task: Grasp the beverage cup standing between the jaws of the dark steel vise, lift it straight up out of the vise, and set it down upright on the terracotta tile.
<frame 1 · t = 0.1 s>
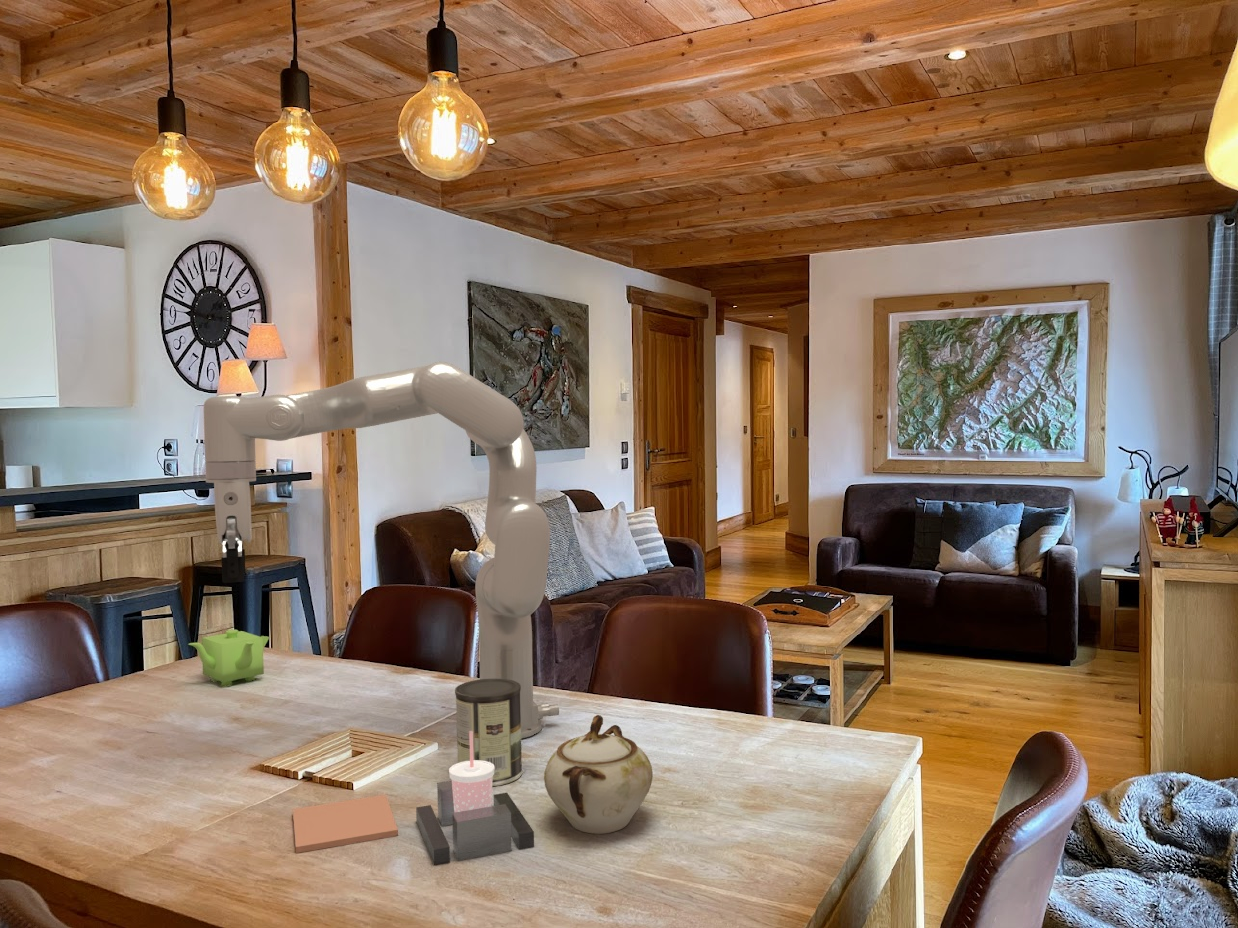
hand: (234, 577, 148), 31 cm above the table, tool pointing down, fingers open, 9 cm apart
terracotta tile: (343, 824, 126), on the table
sugar bowl: (599, 822, 126), on the table
kettle: (231, 681, 202), on the table
beverage cup: (473, 835, 123), resting in vise
coffee can: (489, 776, 144), on the table
vise: (473, 833, 123), on the table
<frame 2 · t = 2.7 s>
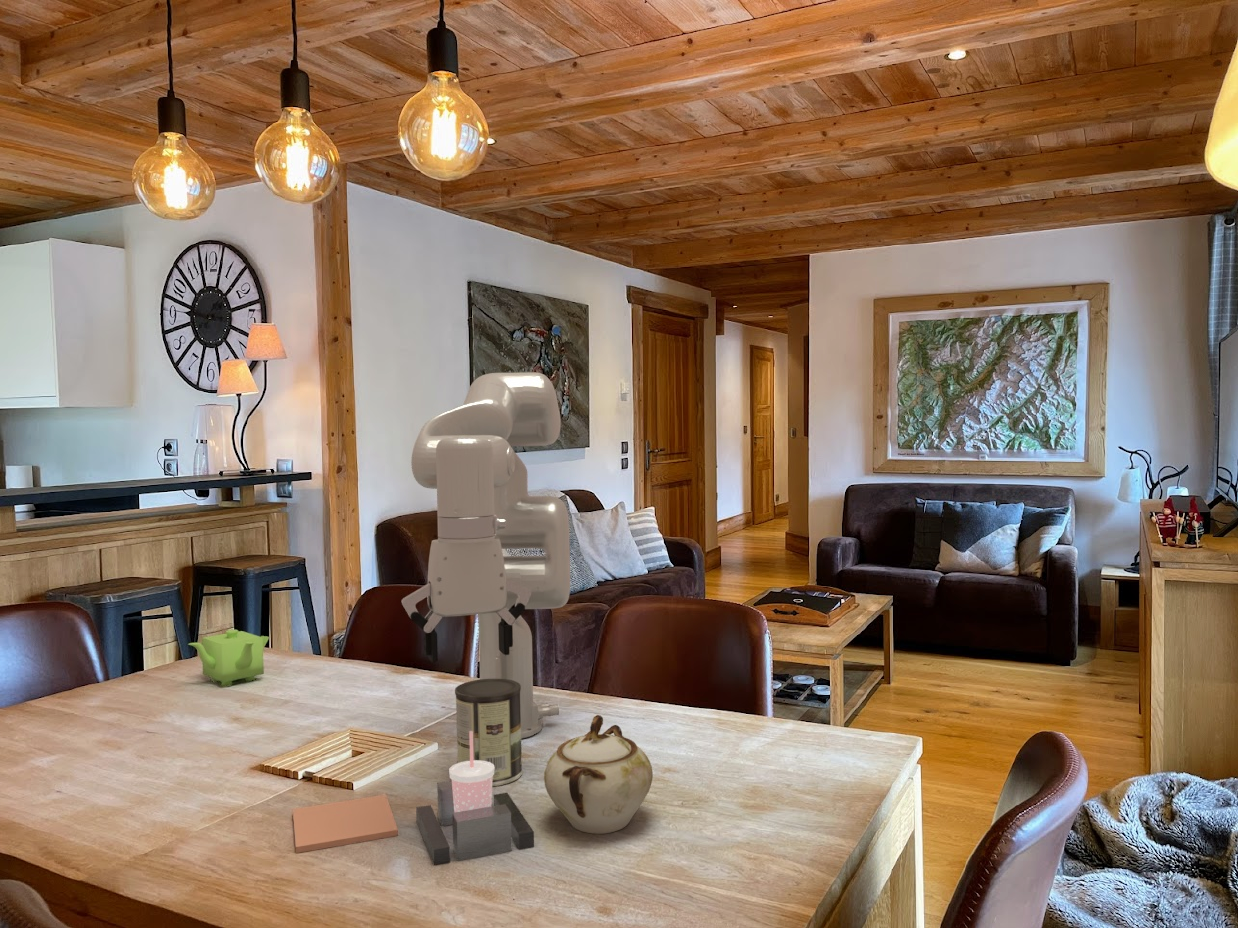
hand: (469, 656, 122), 24 cm above the table, tool pointing down, fingers open, 9 cm apart
nothing on the table moved.
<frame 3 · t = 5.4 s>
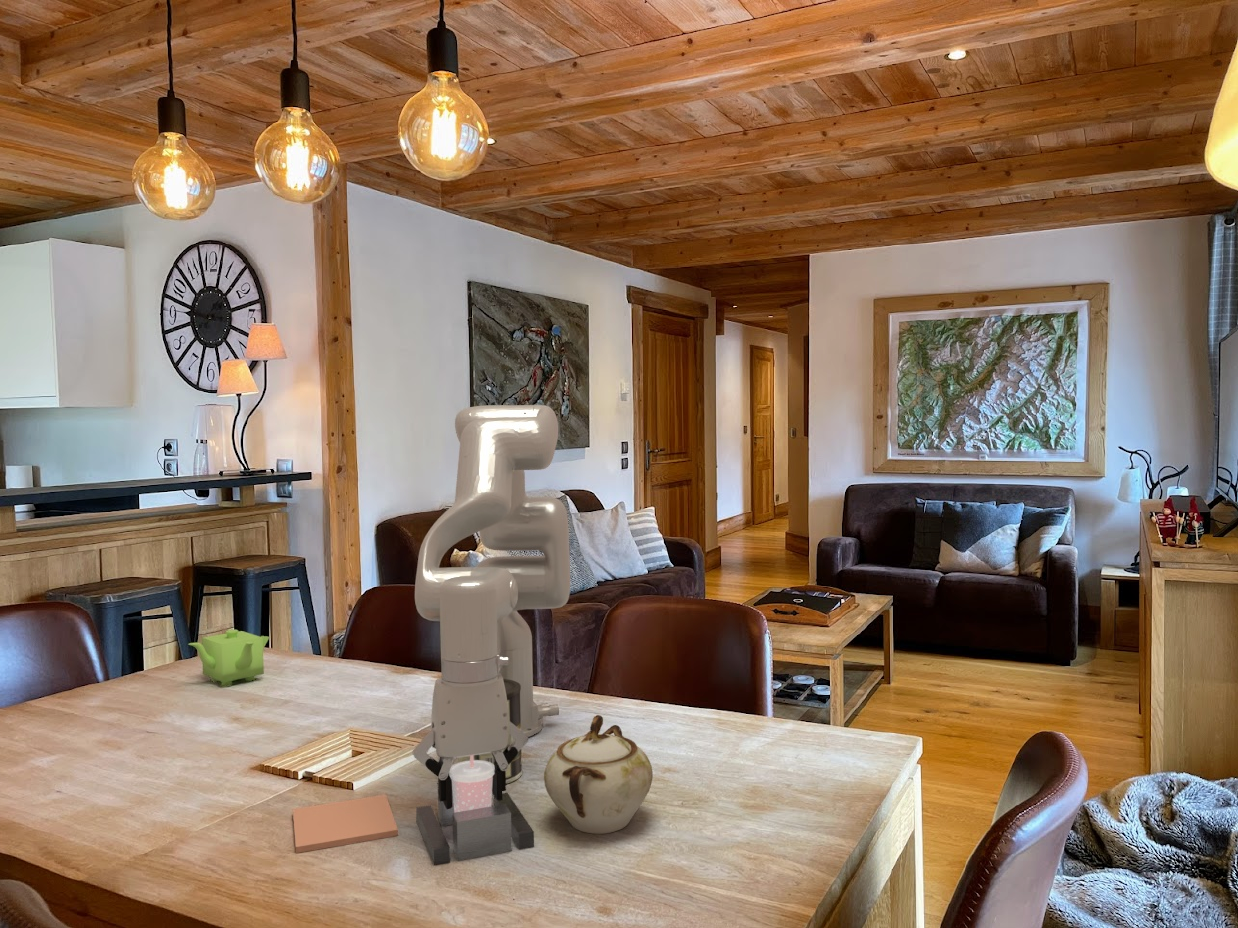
hand: (472, 799, 123), 5 cm above the table, tool pointing down, fingers closed on beverage cup, 6 cm apart
beverage cup: (473, 835, 123), resting in vise, touching gripper
everything else where it was.
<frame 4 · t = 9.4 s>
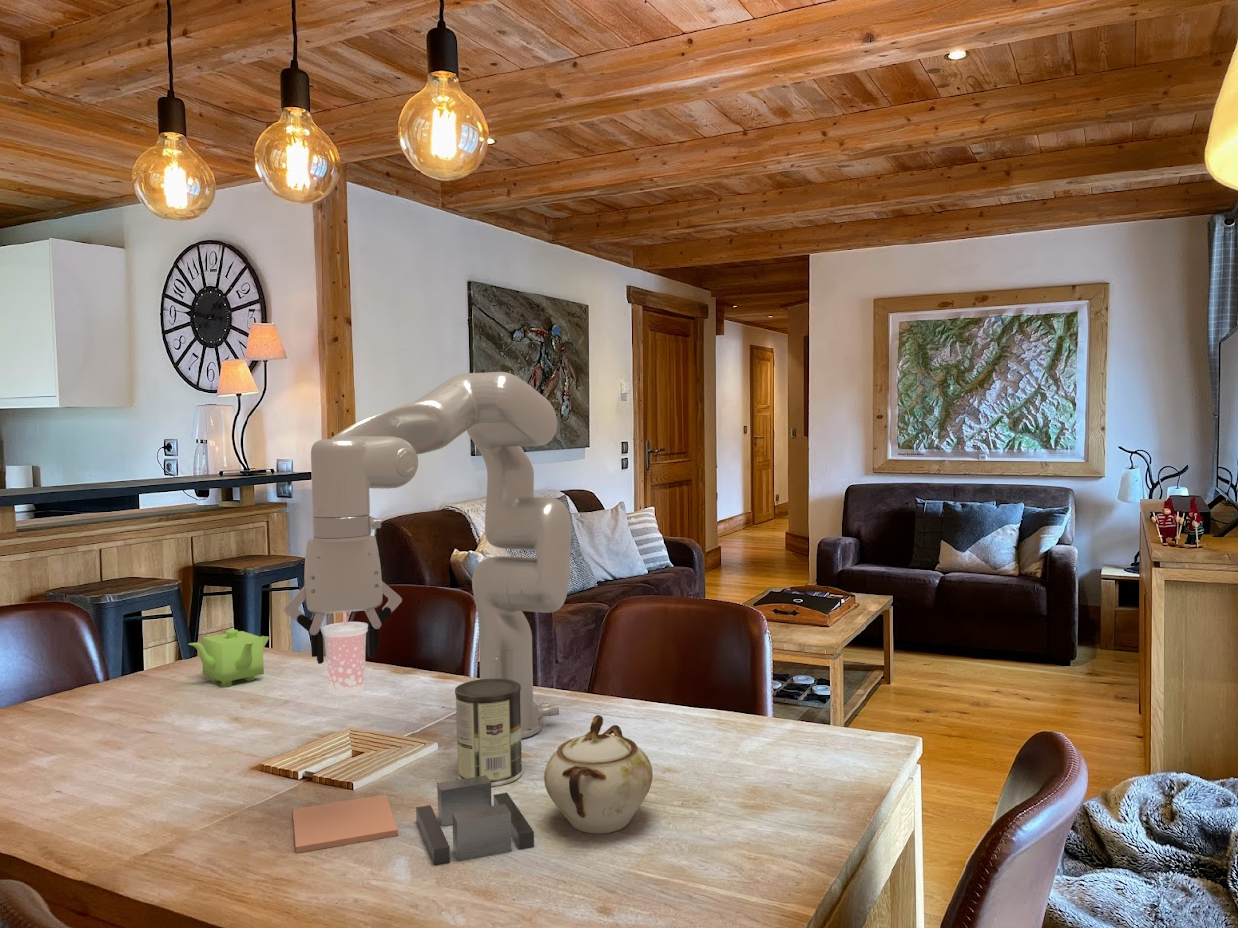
hand: (345, 657, 126), 23 cm above the table, tool pointing down, fingers closed on beverage cup, 6 cm apart
beverage cup: (347, 692, 126), point 19 cm above the table, touching gripper
everything else where it was.
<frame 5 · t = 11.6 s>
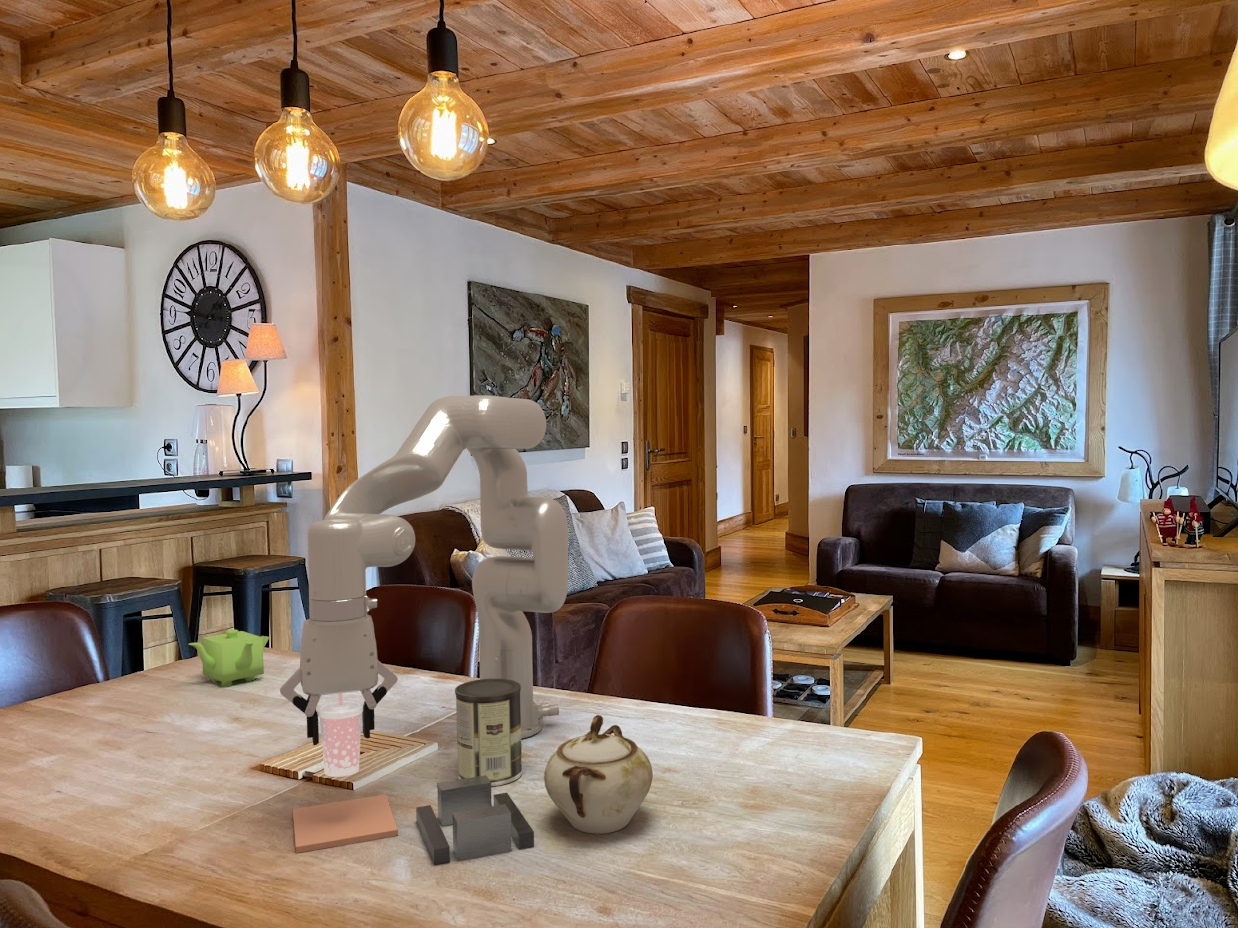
hand: (341, 737, 126), 12 cm above the table, tool pointing down, fingers closed on beverage cup, 6 cm apart
beverage cup: (342, 772, 126), point 7 cm above the table, touching gripper
everything else where it was.
when the fingers open (7 cm above the table, at t = 13.6 s): beverage cup drops 1 cm, resting on terracotta tile.
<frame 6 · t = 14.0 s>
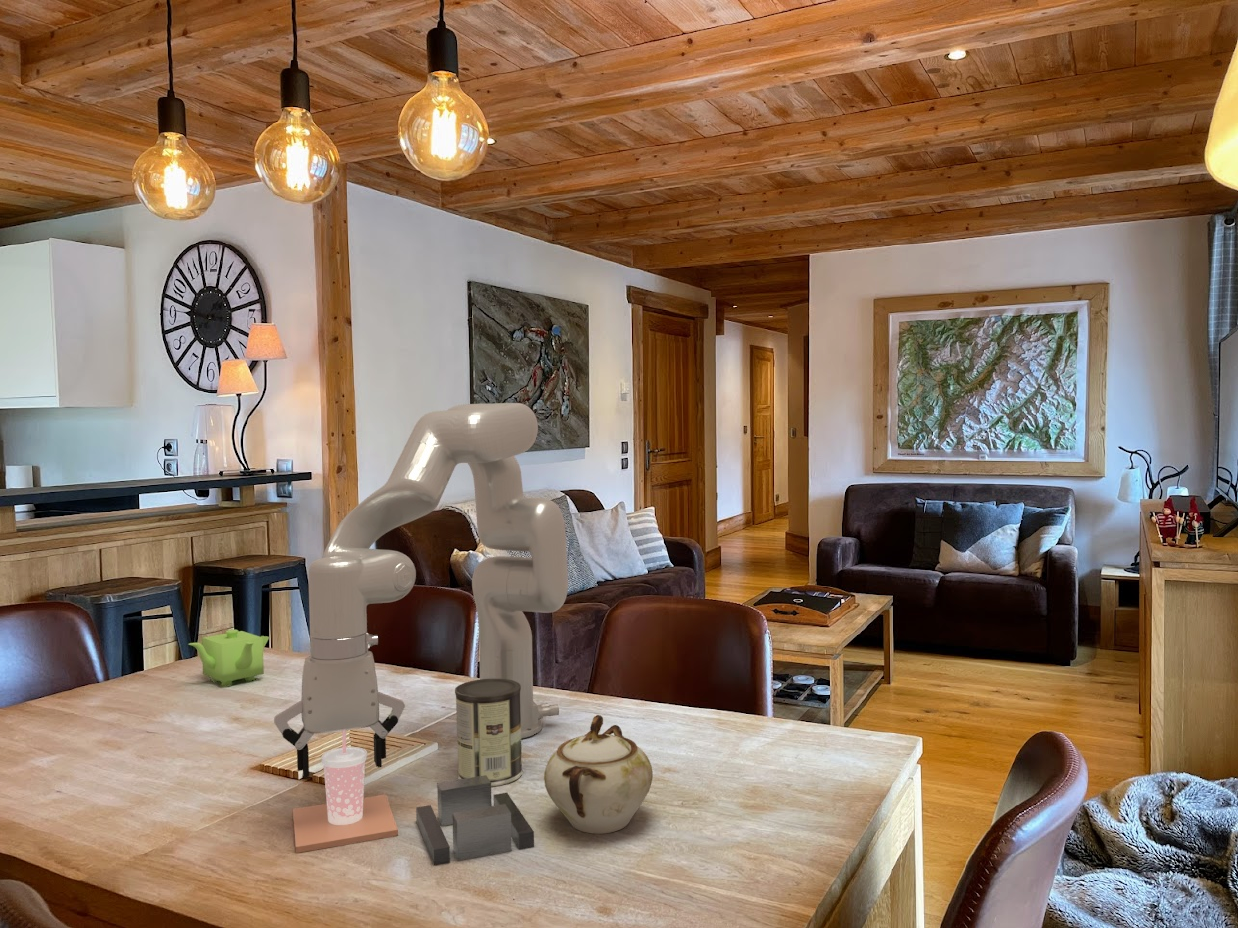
hand: (342, 769, 126), 8 cm above the table, tool pointing down, fingers open, 9 cm apart
beverage cup: (345, 819, 127), point 1 cm above the table, touching terracotta tile
everything else where it was.
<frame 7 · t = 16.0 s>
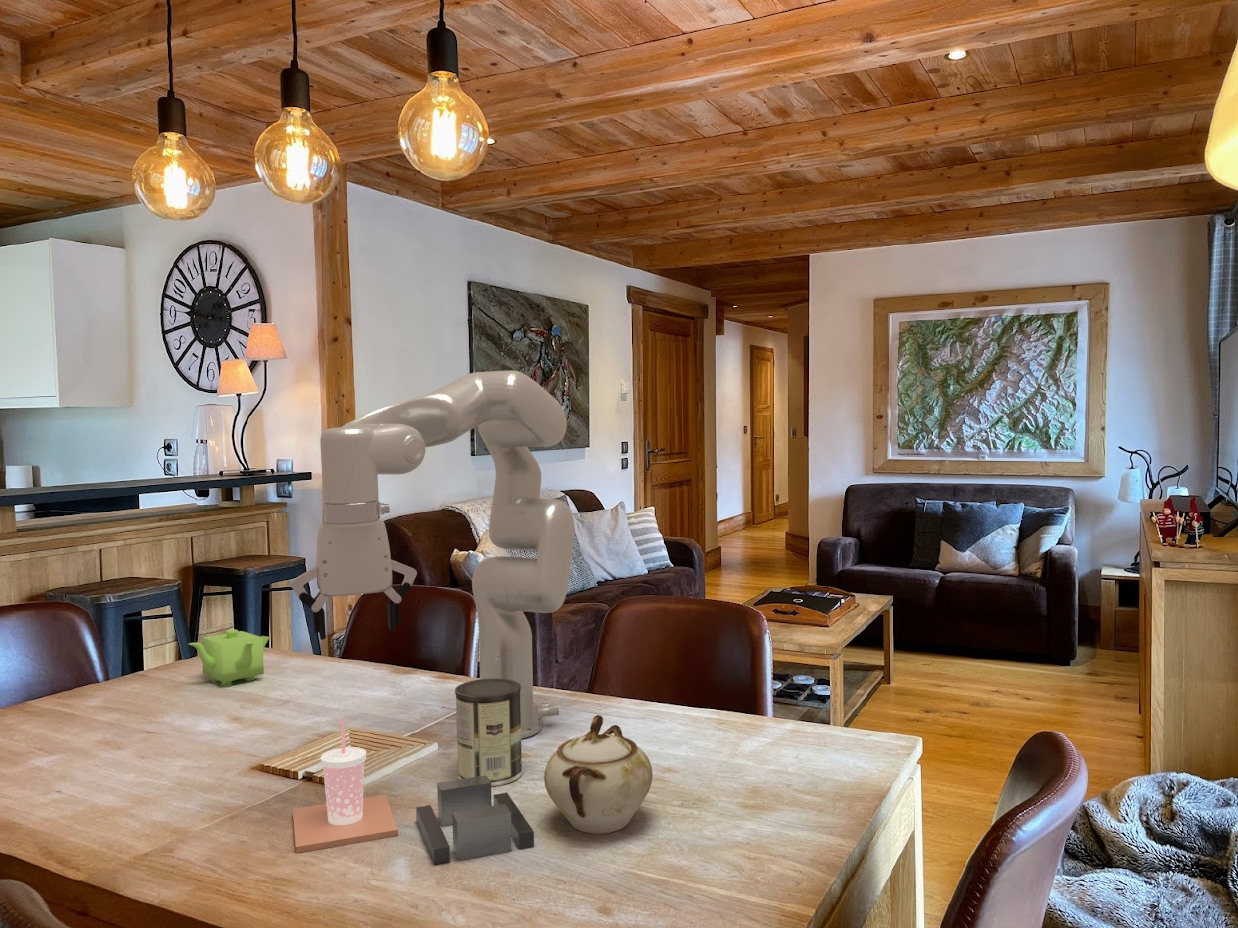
hand: (357, 633, 130), 26 cm above the table, tool pointing down, fingers open, 9 cm apart
nothing on the table moved.
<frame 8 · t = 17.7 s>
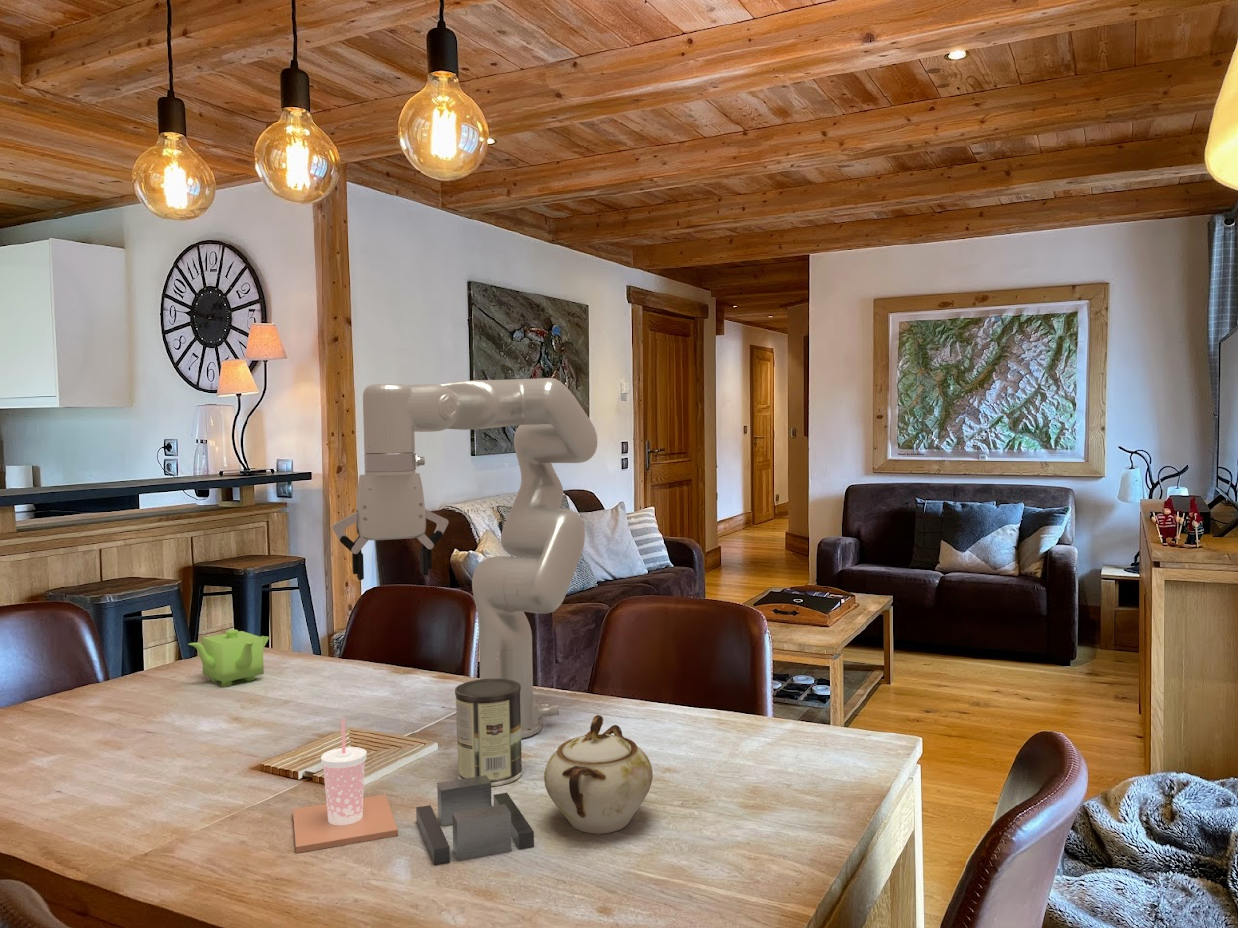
hand: (392, 576, 140), 32 cm above the table, tool pointing down, fingers open, 9 cm apart
nothing on the table moved.
at the end: beverage cup inside the target area on the terracotta tile (0.3 cm from its centre), point 0.6 cm above the terracotta tile's base; beverage cup tilted 0°; the gripper is holding nothing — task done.
